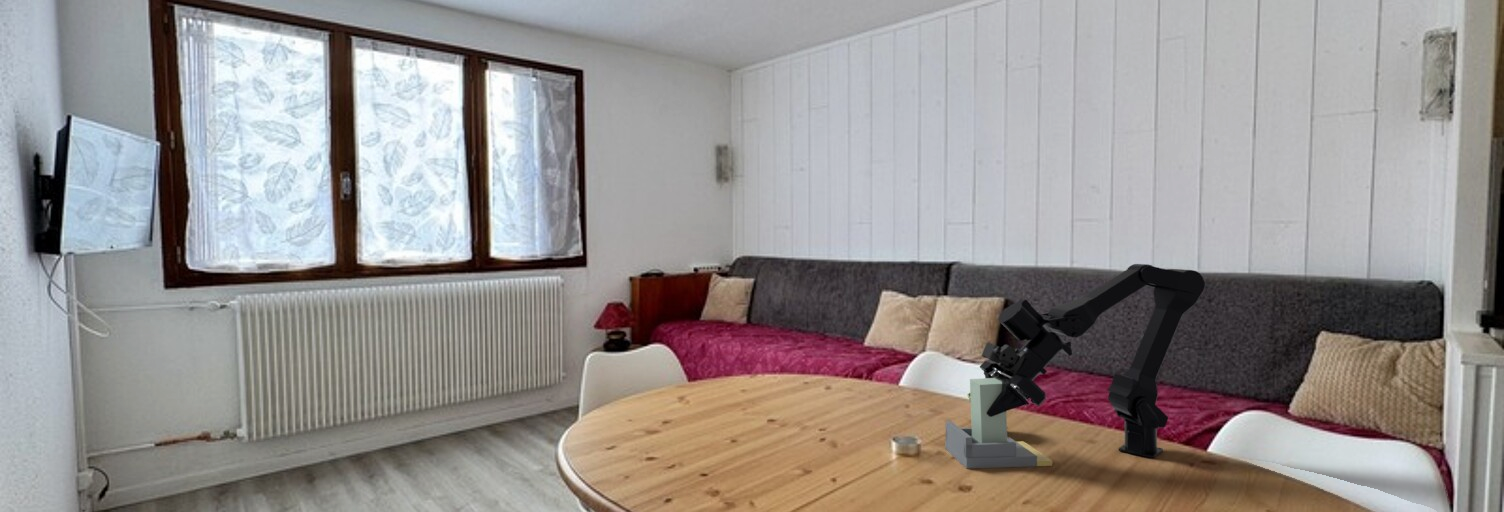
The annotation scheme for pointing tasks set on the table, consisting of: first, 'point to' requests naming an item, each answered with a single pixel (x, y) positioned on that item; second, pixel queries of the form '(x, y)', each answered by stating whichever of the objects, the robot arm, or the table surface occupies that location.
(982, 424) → the pale green tall block
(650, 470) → the table surface
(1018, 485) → the table surface
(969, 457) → the dock
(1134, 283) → the robot arm
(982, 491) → the table surface
